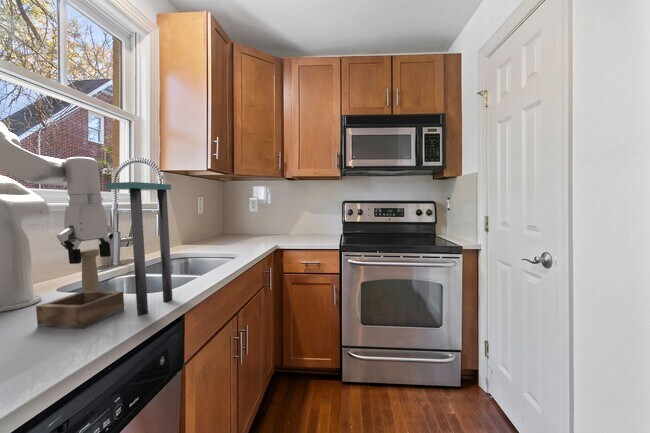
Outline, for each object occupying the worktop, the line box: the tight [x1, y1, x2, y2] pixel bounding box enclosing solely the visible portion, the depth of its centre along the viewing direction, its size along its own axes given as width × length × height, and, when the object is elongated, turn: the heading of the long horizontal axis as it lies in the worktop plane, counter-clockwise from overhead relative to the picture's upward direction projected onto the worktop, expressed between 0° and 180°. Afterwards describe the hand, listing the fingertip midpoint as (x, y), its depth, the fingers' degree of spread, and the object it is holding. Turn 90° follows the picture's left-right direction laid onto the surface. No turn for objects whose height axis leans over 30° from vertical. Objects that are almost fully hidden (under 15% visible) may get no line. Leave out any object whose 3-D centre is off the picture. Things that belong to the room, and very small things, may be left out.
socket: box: [35, 290, 125, 330], centre depth 76 cm, size 12×12×5 cm
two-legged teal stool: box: [106, 181, 173, 316], centre depth 83 cm, size 8×14×34 cm, turn 172°
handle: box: [80, 248, 100, 291], centre depth 89 cm, size 5×6×15 cm
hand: (91, 259), depth 89 cm, fingers open, 9 cm apart
